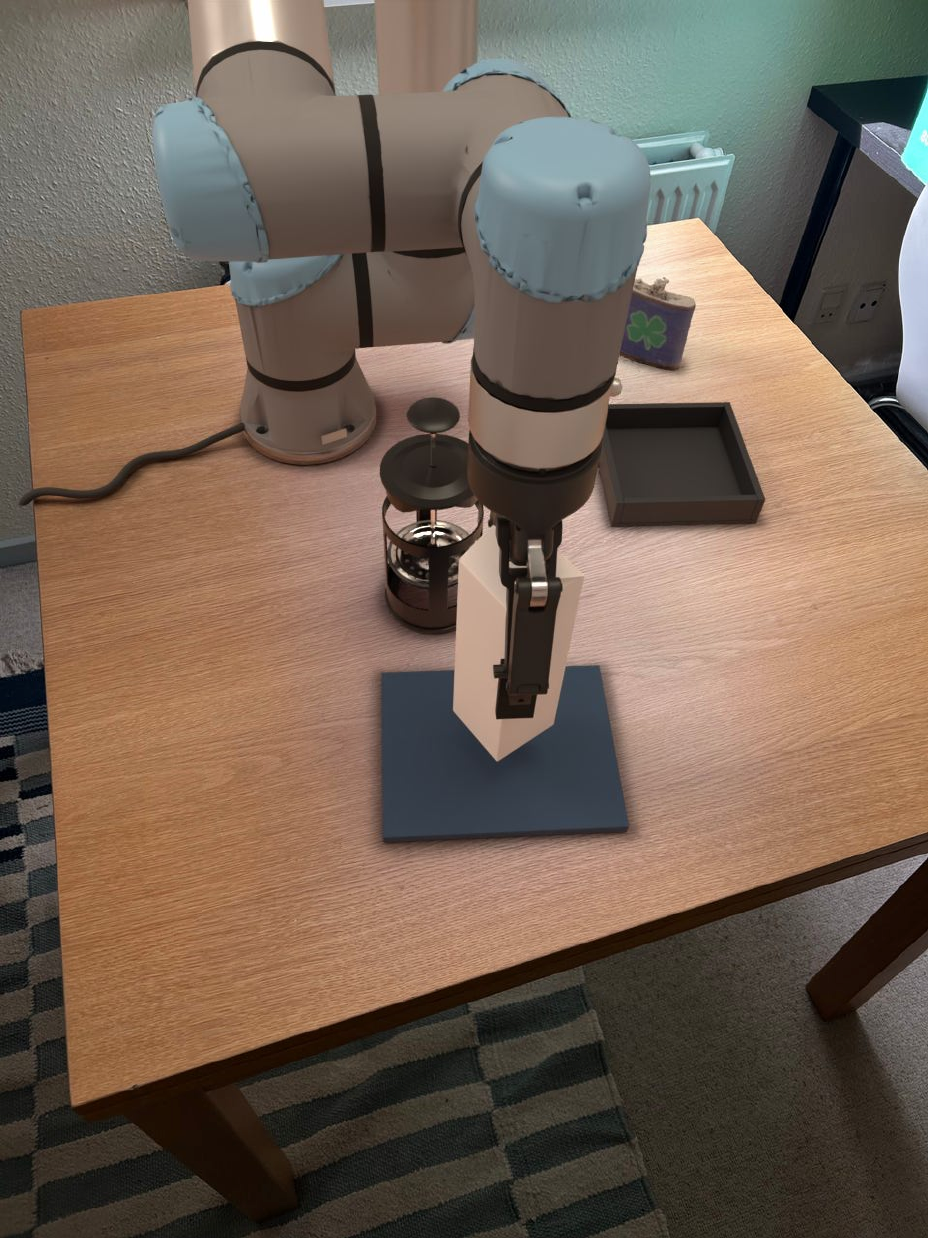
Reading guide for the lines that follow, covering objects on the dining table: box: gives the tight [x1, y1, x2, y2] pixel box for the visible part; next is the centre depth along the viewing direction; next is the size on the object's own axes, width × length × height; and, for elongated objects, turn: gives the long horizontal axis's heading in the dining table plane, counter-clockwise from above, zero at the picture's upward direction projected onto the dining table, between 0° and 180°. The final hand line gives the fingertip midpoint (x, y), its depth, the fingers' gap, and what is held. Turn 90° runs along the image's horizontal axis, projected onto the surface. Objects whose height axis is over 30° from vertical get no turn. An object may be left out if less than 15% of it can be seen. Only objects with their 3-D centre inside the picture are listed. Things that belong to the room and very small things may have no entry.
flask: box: [619, 276, 697, 371], centre depth 110 cm, size 9×3×11 cm, turn 61°
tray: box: [598, 401, 766, 527], centre depth 100 cm, size 16×16×4 cm
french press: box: [379, 396, 485, 635], centre depth 81 cm, size 12×9×23 cm
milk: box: [453, 525, 585, 761], centre depth 66 cm, size 6×6×22 cm
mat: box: [381, 664, 630, 843], centre depth 79 cm, size 20×16×1 cm
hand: (508, 663), depth 69 cm, fingers closed on milk, 8 cm apart
